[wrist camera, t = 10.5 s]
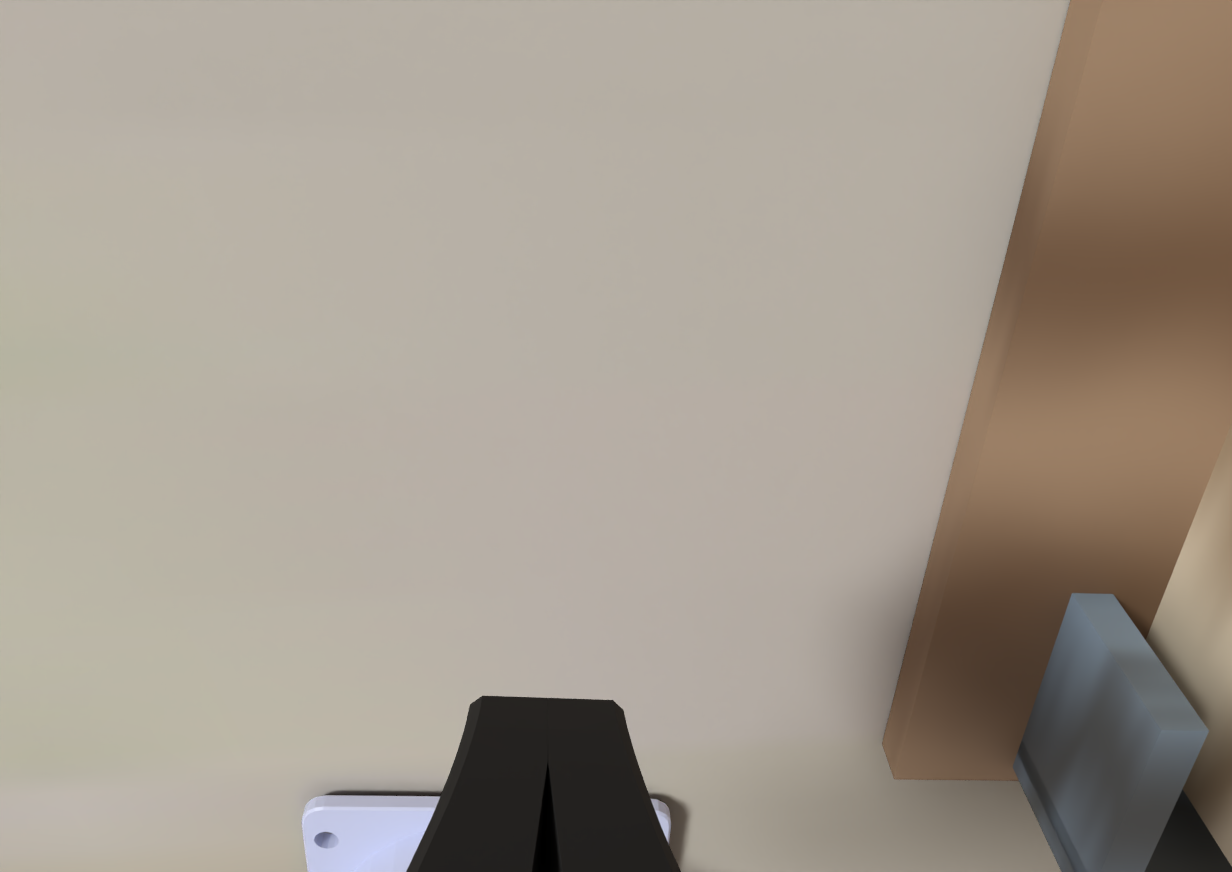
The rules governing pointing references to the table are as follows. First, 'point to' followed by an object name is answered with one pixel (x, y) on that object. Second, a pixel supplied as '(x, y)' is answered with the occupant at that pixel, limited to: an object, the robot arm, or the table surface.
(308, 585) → the table surface
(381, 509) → the table surface
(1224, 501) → the slat
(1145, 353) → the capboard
